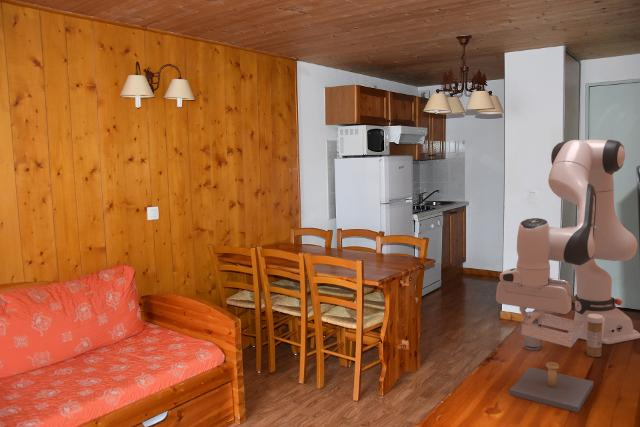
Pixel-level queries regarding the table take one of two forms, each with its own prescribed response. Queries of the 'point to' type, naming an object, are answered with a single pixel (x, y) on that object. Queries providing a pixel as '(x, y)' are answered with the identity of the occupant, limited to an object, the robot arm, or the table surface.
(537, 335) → the ring link
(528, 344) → the energy drink
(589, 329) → the sprinkles bottle
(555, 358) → the table surface
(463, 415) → the table surface
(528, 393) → the keeper board
